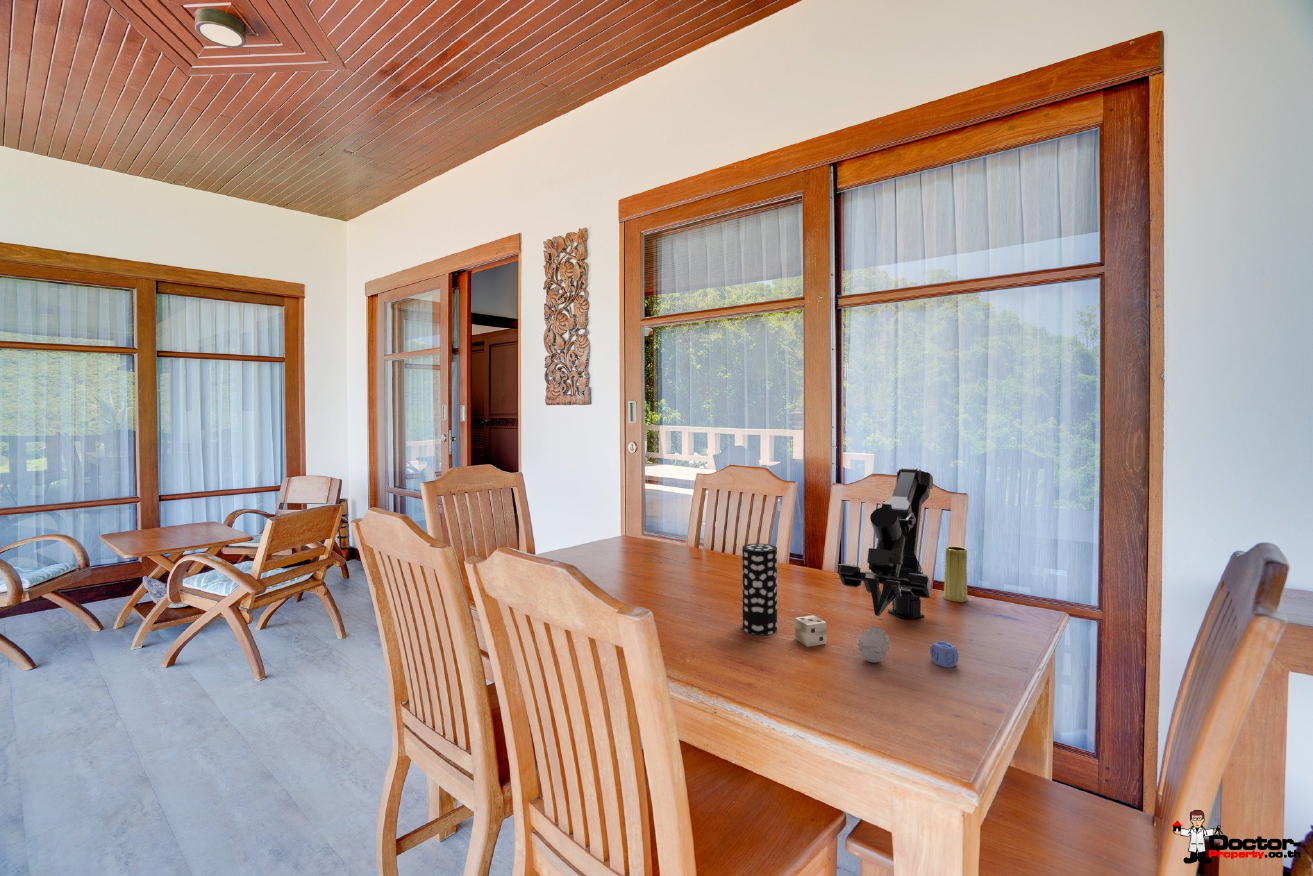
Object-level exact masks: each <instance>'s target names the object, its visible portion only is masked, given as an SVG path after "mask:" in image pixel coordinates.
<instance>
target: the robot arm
mask: <svg viewBox="0 0 1313 876" xmlns="http://www.w3.org/2000/svg"><path fill="white" fill-rule="evenodd" d="M895 481H896V483H895V487H894V489H893V492H892V496H891V498H889V499H887V500H885V501H883V503H882V504H881V507H879V508H876V509H875V510H873V511H872V513H871V514H870V515H869V516H870V517H869V519H870V522H871V526H872V528H873V533H874V536H875V537H876V539H877V543H876V547H875V548H874V547H873V548H872V547H871V548H870V547H869V548H868V551H867V552H868V553H867V560H866V562H867V564H868V570H870V571H868V570H866V571H860V570H861V569H860V568H859V565H856V564H849V563H842V564H840V565H839V568H838V571H837V574H838V576H839V579H840V581H841V583H842V585H843V586H845V587H852V588H859V587H860V586H861V584H862V582H863V583H864V587H865V590H866V592H868V593H870V594H871V599H872V605H873V606H872V607H873V611H874V612H873V614H874V616H876V617H880V616H881V615H882V613H884V611H885V610H886V608H887V607H888V606H889V605H890V604H891V603H892V608H889V609H887V612H888V613H890V614H891V615H894V616H897V617H898V618H901V619H903V620H910V619H917V618H923V617H925V613H922V611H921V606H922V603H921V599H927V600H928V599H930V598H931V591H932V586H931V582H930V578H929V576H928V575H927V574H924V572H923V570H922V569H923V568H922V565H921V564H920V561H919V560H918V559H919V558H917V552H918V541H919V534H920V524H921V523H920V522H921V516H922V508H923V507H922V506H923V504H924V503H925V502H926V501H927V500H928V499H929V498H930V493H931V490H932V489H933V487H934V477H933V475H932V474H931V473H930V472H929V471H922V470H921V469H918V468H917V467H902V468H899V469H898V471H896V480H895ZM880 585H882V590H881V588H880Z"/></svg>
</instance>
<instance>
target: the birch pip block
mask: <svg viewBox="0 0 1313 876" xmlns="http://www.w3.org/2000/svg"><path fill="white" fill-rule="evenodd" d="M794 621H795V622H794V630H795V631H794V632H795V633H794V635H795V636H794V638H795V640H796V641H798V642H800V643H801V644H802V645H804V646H805V647H807V648H808V647H809V648H810V647H815V646H820V645H826V644H827V621H825V620H823V619H821V618H819V617H818V616H816V615H814V614H813V615H812V614H811V615H806V616H805V615H804V616H800V617H795V618H794Z"/></svg>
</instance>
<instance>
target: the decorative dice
mask: <svg viewBox="0 0 1313 876" xmlns="http://www.w3.org/2000/svg"><path fill="white" fill-rule="evenodd" d="M929 651H930V657H931V660H932V662H933V663H934V664H935V665H936V666H939V667H943V668H953V667H955V666H957V664H958V662H959V657H960V656H959V652H958V649H957V647H956V646H955V645H954V644H953V643H951V642H947V641H943V640H940V641H935V642H934V643H932V644H931V646H930V649H929Z"/></svg>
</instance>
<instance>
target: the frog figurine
mask: <svg viewBox="0 0 1313 876" xmlns="http://www.w3.org/2000/svg"><path fill="white" fill-rule="evenodd" d="M890 641H891V639H890V637H889V636H888V633H886V631H885V630H884V629H882V628H880V627H876V626H869V627H868V629H866V630H865V632H863V633H862V634H861V635H860V638H859V640H858V642H857V646H858V650H859V652H860V654H861V656H862V657H863V658H864V660H866V661H867V662H869V663H873V664H875V663H879V662H881V661H883V660H884V658H885V657H886V655H887V652H888V651H889V648H890V647H889V646H890V644H891V643H890Z"/></svg>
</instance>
